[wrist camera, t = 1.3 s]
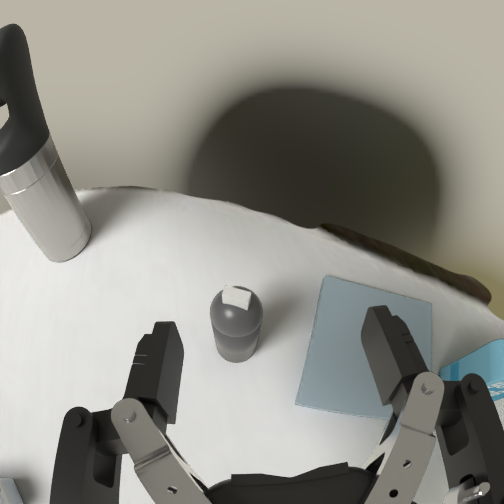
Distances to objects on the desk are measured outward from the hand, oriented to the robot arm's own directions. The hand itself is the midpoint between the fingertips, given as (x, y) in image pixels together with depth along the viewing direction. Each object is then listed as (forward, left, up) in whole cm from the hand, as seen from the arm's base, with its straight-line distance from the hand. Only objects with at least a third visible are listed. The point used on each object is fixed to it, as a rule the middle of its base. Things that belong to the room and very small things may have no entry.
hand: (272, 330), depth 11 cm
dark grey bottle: (-3, +5, -20) cm, 21 cm away
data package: (+29, +5, -20) cm, 36 cm away
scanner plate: (+13, +8, -20) cm, 25 cm away
